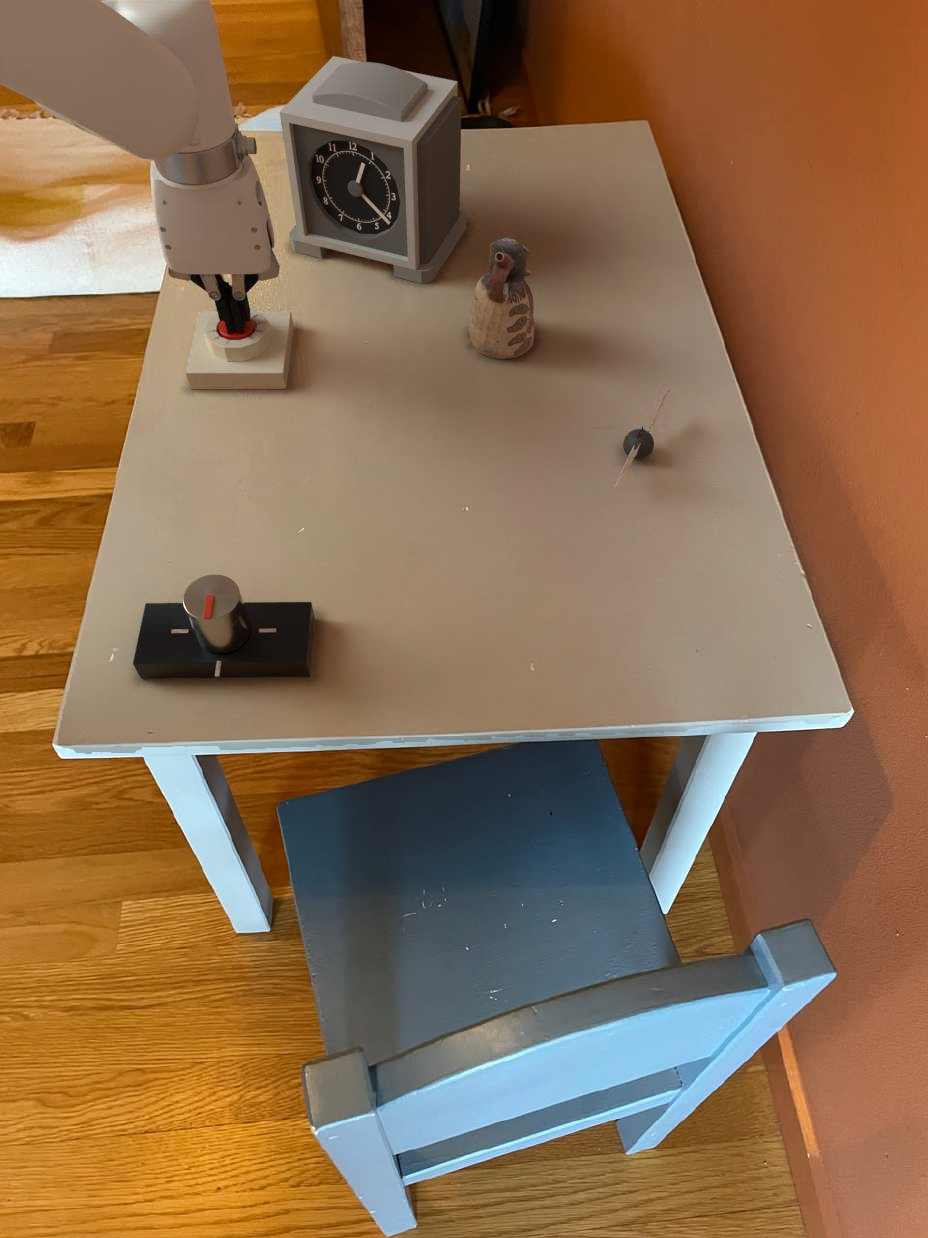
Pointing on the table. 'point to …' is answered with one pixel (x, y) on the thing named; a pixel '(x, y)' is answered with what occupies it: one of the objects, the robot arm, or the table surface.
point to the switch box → (241, 353)
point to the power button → (248, 331)
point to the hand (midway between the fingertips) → (237, 324)
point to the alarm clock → (376, 166)
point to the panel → (267, 652)
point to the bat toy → (640, 441)
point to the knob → (217, 613)
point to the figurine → (503, 304)
